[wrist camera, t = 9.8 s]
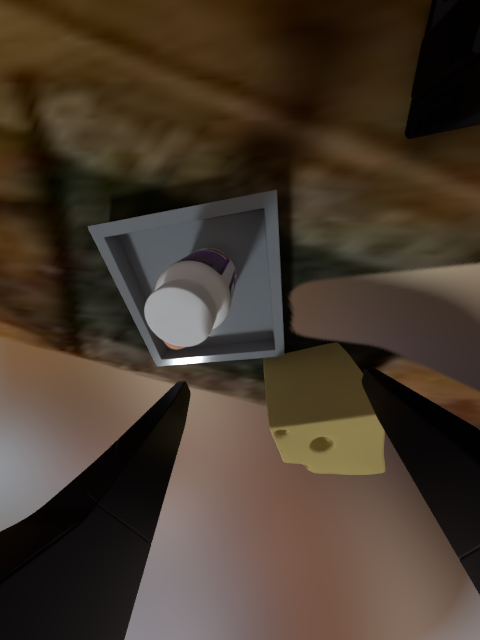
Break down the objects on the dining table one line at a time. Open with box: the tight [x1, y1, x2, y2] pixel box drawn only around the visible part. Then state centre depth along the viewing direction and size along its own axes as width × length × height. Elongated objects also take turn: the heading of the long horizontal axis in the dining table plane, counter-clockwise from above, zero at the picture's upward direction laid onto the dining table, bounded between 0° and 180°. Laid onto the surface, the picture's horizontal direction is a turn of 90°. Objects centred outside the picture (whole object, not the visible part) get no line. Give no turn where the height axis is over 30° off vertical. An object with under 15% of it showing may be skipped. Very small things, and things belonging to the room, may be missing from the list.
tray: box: [88, 190, 285, 366], centre depth 19 cm, size 16×16×3 cm
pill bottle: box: [144, 248, 237, 347], centre depth 15 cm, size 5×5×10 cm
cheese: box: [264, 342, 385, 475], centre depth 21 cm, size 10×11×10 cm
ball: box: [164, 341, 185, 350], centre depth 21 cm, size 3×3×3 cm
